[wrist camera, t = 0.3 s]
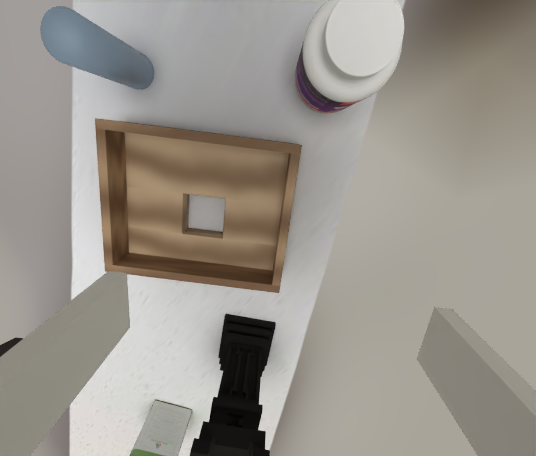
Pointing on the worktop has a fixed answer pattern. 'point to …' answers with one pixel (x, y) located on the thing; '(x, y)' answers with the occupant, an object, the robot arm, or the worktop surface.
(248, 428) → the chess piece
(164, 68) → the worktop surface
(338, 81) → the pill bottle
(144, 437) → the ink box
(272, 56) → the worktop surface
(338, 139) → the worktop surface
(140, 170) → the box
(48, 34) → the peg
